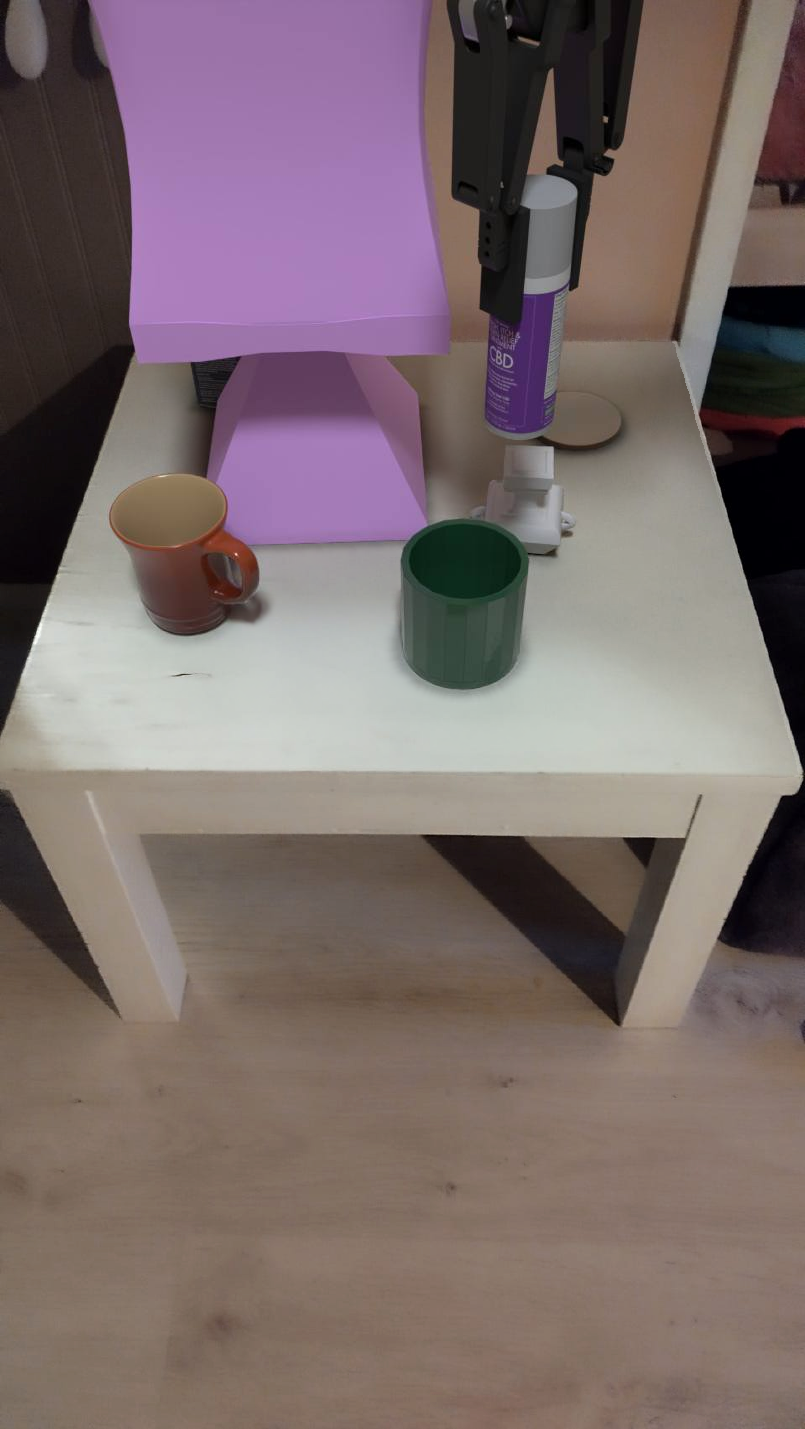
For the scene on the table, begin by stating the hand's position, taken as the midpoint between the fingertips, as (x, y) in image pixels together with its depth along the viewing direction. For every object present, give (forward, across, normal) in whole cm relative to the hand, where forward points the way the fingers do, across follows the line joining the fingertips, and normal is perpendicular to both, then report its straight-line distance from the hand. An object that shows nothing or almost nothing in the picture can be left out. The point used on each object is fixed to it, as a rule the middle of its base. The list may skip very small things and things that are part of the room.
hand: (529, 297), depth 62 cm
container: (+9, 0, 0) cm, 9 cm away
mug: (+27, +17, -17) cm, 36 cm away
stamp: (+27, -8, -5) cm, 28 cm away
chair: (+27, -2, -24) cm, 36 cm away
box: (+27, -5, -41) cm, 49 cm away
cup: (+27, +5, 0) cm, 27 cm away
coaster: (+27, -24, -12) cm, 38 cm away
